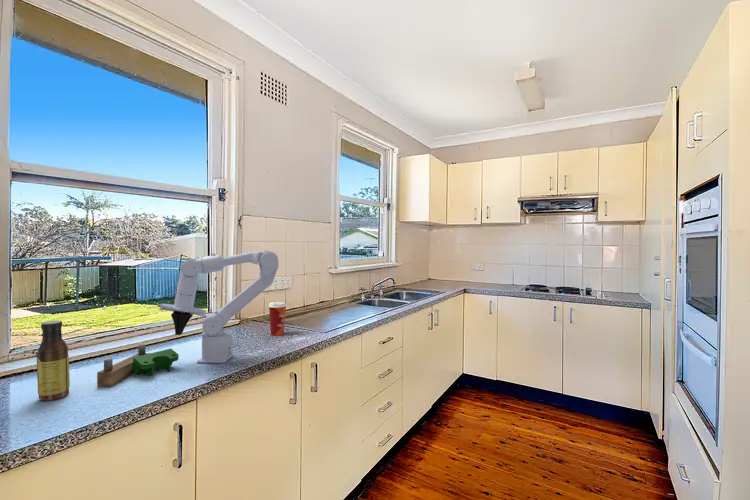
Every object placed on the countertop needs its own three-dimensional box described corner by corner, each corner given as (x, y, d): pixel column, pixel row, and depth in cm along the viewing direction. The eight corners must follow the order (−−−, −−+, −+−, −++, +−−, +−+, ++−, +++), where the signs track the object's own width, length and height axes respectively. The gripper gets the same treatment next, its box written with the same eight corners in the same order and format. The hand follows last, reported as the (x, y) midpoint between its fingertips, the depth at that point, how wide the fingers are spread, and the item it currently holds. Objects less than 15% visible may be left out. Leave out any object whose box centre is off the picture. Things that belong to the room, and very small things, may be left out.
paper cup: (283, 336, 157) (283, 304, 157) (266, 336, 157) (266, 304, 157) (288, 332, 165) (288, 301, 164) (271, 332, 165) (271, 301, 164)
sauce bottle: (51, 392, 97) (50, 318, 97) (75, 391, 98) (75, 318, 98) (30, 403, 91) (29, 324, 91) (56, 402, 91) (55, 324, 91)
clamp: (146, 391, 109) (136, 369, 105) (137, 382, 112) (127, 360, 108) (184, 366, 118) (176, 345, 114) (174, 359, 121) (167, 338, 117)
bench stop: (150, 365, 120) (150, 344, 119) (111, 386, 102) (111, 361, 101) (138, 365, 120) (138, 344, 119) (97, 386, 102) (97, 361, 101)
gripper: (157, 291, 118) (149, 333, 117) (203, 298, 119) (195, 340, 118) (168, 290, 125) (161, 329, 124) (211, 296, 126) (204, 335, 125)
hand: (178, 334), depth 122 cm, fingers closed
